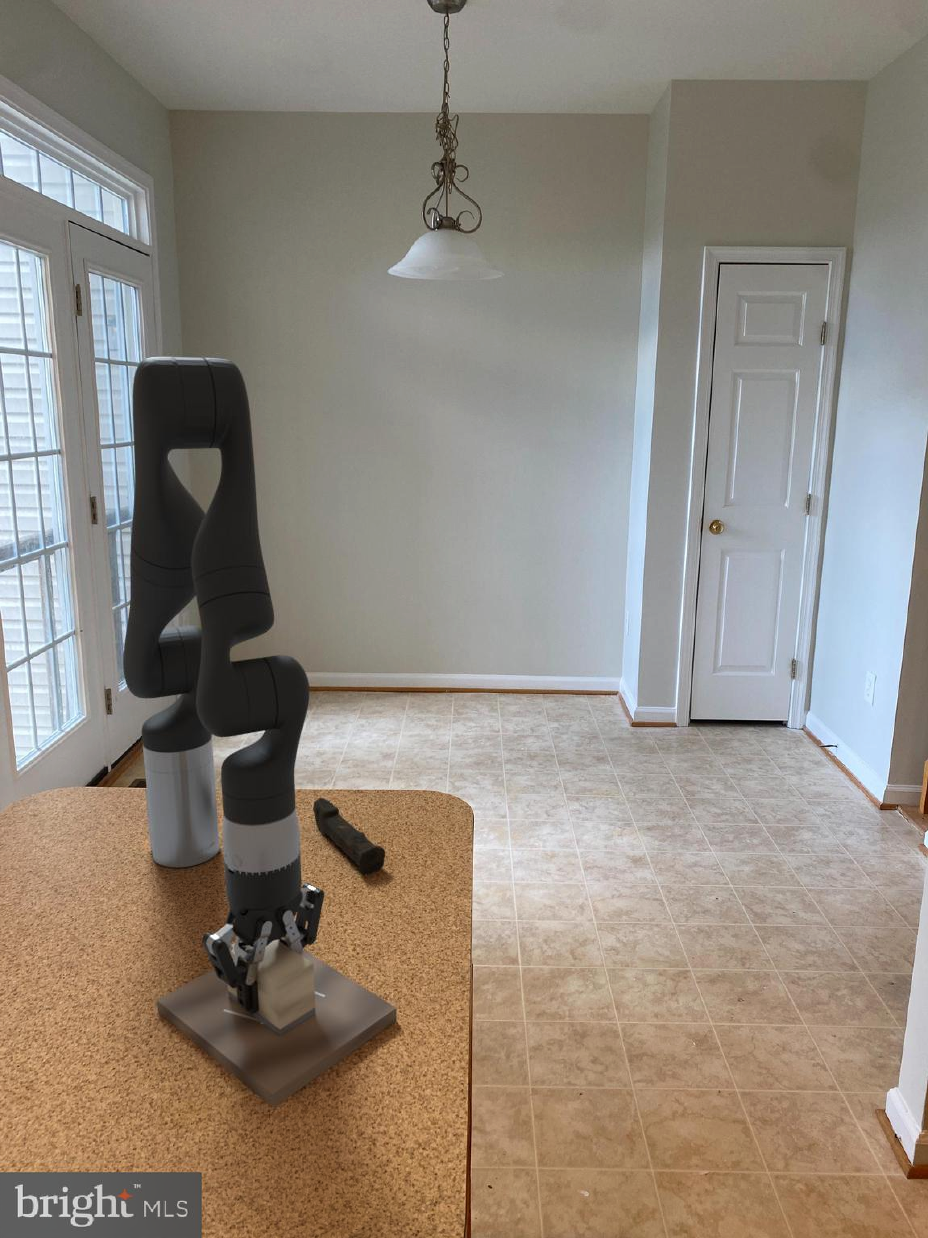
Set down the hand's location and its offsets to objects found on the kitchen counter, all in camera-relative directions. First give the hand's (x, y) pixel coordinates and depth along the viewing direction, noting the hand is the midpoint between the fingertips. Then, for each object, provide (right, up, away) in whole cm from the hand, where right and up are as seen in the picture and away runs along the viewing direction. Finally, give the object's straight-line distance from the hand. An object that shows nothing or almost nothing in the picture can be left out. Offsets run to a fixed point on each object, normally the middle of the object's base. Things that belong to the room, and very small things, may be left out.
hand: (270, 996), depth 94 cm
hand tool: (+2, +6, +37) cm, 37 cm away
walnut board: (0, -2, +1) cm, 3 cm away
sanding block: (0, -1, 0) cm, 1 cm away
